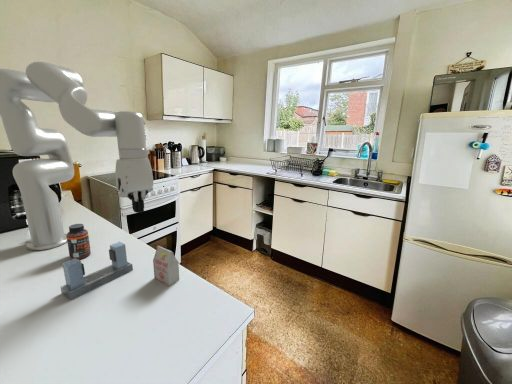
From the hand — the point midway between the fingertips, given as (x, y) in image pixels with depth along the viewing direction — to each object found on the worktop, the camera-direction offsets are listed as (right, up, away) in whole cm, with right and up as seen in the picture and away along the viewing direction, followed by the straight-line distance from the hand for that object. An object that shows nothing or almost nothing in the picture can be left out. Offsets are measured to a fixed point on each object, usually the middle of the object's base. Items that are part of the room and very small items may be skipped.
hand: (138, 211), depth 77 cm
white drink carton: (+11, -20, -5) cm, 23 cm away
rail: (-8, -20, -7) cm, 22 cm away
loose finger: (-5, -17, -3) cm, 17 cm away
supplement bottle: (-23, -16, +6) cm, 29 cm away
